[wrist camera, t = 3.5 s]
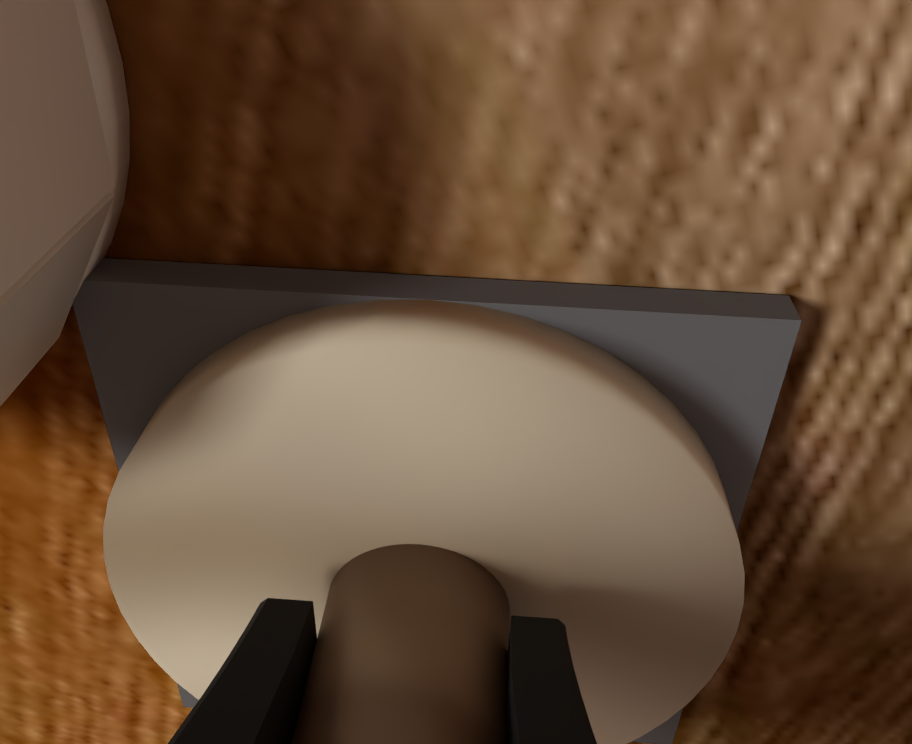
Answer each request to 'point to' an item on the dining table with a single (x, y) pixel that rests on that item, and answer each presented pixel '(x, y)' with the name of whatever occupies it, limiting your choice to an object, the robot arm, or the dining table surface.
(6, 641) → the dining table surface
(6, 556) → the dining table surface
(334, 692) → the lid
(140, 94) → the dining table surface
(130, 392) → the mat
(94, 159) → the bowl
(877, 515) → the dining table surface
